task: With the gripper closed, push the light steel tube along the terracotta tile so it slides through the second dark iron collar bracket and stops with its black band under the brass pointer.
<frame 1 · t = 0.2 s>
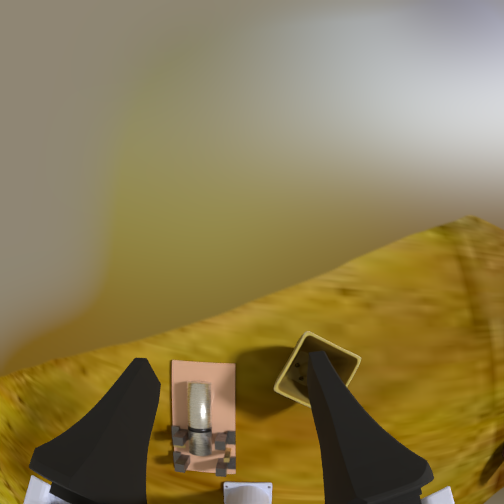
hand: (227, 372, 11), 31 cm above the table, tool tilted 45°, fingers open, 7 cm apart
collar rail: (204, 446, 35), resting on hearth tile
flower pot: (305, 368, 39), on the table
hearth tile: (203, 420, 36), on the table
tube: (203, 416, 36), point 1 cm above the table, tilted 7°, touching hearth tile
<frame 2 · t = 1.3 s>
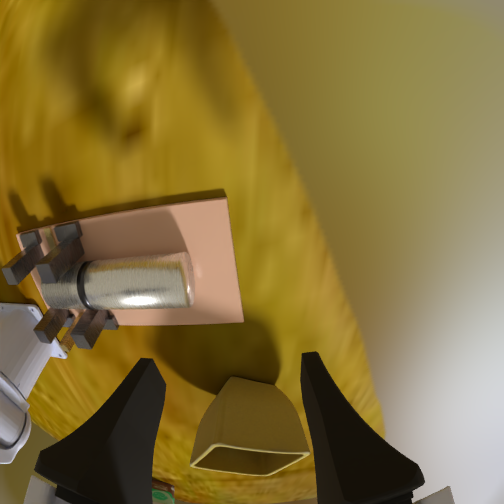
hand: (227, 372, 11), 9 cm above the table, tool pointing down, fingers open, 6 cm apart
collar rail: (70, 276, 20), resting on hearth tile
flower pot: (246, 389, 27), on the table
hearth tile: (113, 274, 20), on the table
food container: (158, 481, 55), on the table
tube: (121, 277, 19), point 1 cm above the table, tilted 16°, touching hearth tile
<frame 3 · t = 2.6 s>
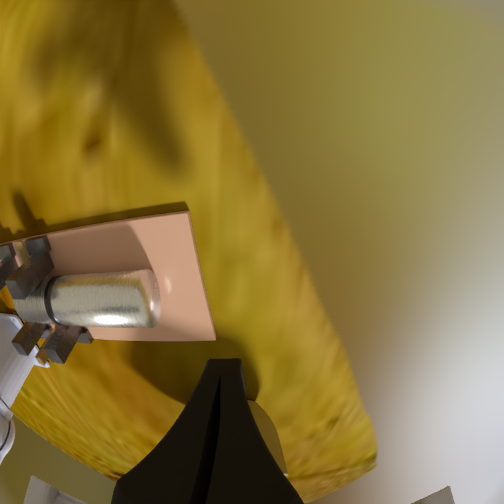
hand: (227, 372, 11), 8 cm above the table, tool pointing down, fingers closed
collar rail: (44, 289, 18), resting on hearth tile
flower pot: (226, 404, 25), on the table
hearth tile: (83, 288, 18), on the table
tube: (89, 292, 18), point 1 cm above the table, tilted 17°, touching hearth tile
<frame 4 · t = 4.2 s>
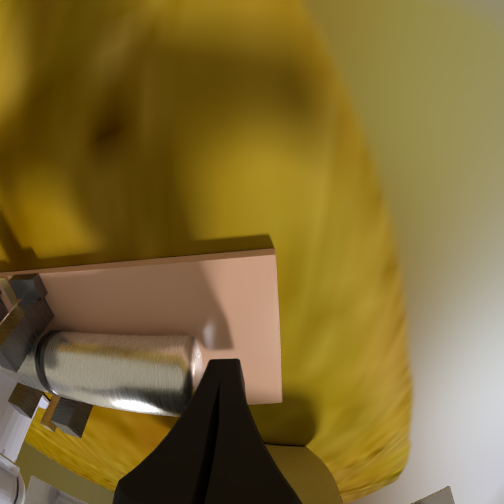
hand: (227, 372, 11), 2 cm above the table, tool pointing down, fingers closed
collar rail: (43, 337, 13), resting on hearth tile
flower pot: (271, 450, 20), on the table
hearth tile: (97, 343, 13), on the table
tube: (97, 351, 12), point 1 cm above the table, tilted 17°, touching gripper
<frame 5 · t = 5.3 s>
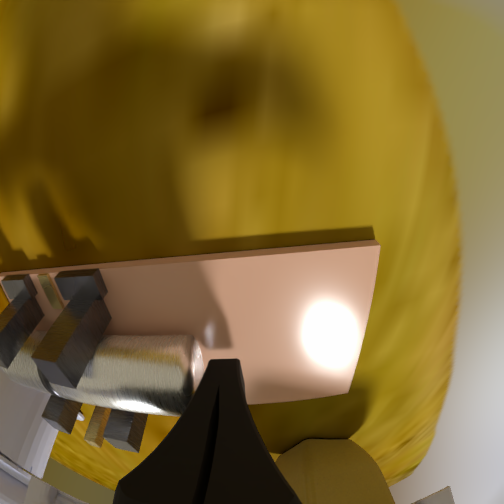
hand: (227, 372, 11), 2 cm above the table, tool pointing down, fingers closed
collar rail: (86, 342, 13), resting on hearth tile
flower pot: (315, 445, 20), on the table
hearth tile: (161, 346, 13), on the table
tube: (99, 352, 12), point 1 cm above the table, tilted 18°, touching gripper, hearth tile
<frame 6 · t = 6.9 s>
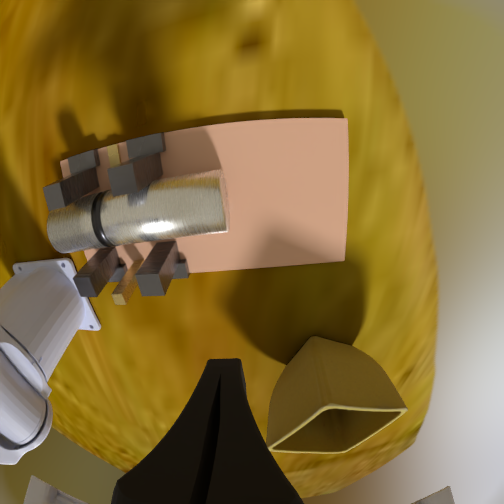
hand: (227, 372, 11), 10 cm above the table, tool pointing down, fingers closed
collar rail: (130, 211, 18), resting on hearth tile
flower pot: (320, 354, 25), on the table
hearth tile: (196, 203, 18), on the table
tube: (142, 214, 17), point 1 cm above the table, tilted 20°, touching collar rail, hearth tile
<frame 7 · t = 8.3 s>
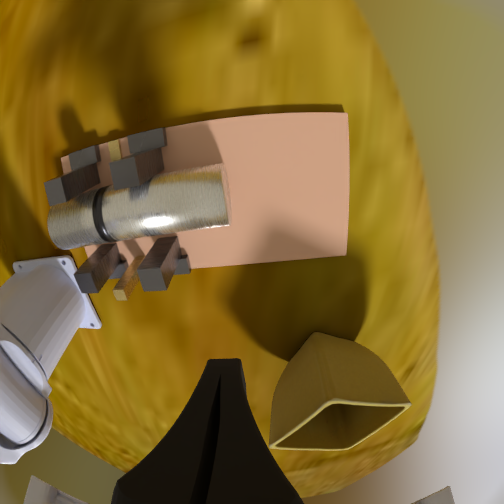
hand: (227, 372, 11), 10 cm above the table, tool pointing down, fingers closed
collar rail: (131, 207, 18), resting on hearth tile
flower pot: (322, 350, 25), on the table
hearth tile: (197, 198, 18), on the table
tube: (143, 209, 17), point 1 cm above the table, tilted 20°, touching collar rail, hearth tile
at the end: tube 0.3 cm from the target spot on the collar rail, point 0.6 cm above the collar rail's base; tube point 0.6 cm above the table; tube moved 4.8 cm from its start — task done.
